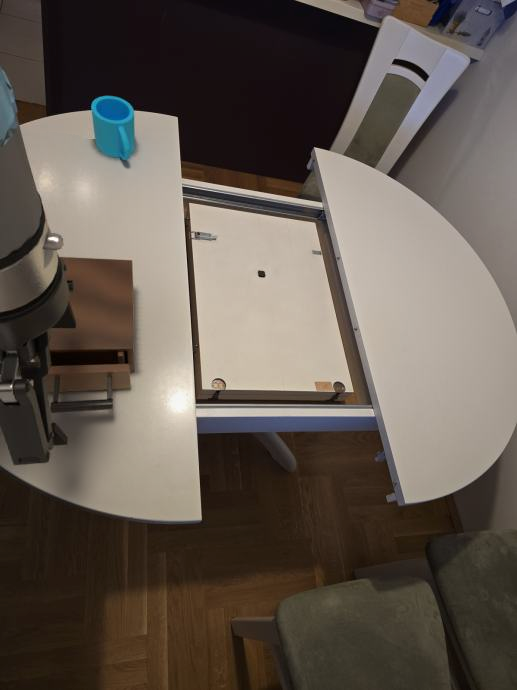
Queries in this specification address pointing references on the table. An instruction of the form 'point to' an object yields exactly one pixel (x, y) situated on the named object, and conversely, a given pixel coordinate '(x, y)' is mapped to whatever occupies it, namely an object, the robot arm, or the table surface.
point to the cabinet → (98, 308)
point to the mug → (113, 126)
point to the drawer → (86, 378)
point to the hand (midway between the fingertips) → (58, 380)
